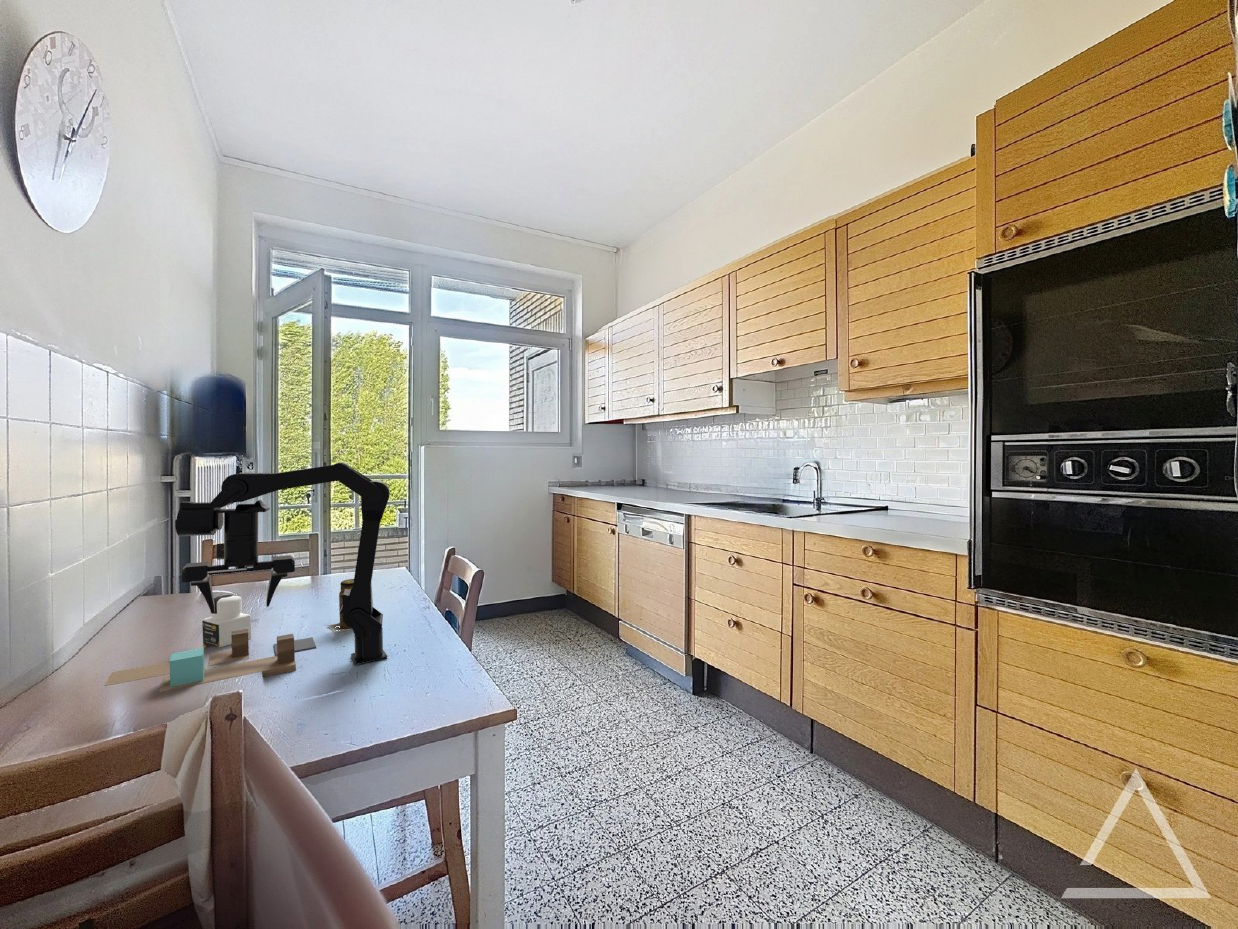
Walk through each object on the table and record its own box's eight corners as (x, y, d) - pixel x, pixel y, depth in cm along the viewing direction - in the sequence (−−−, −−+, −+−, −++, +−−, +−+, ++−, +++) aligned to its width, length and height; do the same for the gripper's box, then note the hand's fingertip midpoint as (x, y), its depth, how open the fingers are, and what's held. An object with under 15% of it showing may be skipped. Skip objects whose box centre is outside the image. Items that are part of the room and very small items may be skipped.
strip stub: (249, 663, 118) (248, 635, 117) (208, 671, 114) (207, 642, 113) (248, 652, 124) (247, 625, 124) (210, 659, 120) (209, 632, 120)
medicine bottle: (202, 648, 128) (200, 598, 127) (235, 639, 134) (234, 591, 134) (218, 654, 124) (217, 602, 124) (252, 644, 131) (250, 594, 130)
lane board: (219, 690, 105) (218, 682, 105) (67, 722, 93) (67, 714, 93) (221, 656, 123) (221, 650, 122) (93, 680, 110) (93, 673, 110)
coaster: (316, 649, 127) (316, 646, 127) (275, 657, 122) (275, 654, 122) (312, 639, 133) (312, 637, 133) (273, 646, 129) (273, 644, 129)
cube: (203, 680, 106) (202, 655, 106) (170, 687, 103) (169, 661, 103) (204, 672, 110) (203, 647, 110) (172, 678, 108) (172, 653, 107)
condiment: (370, 625, 144) (369, 580, 143) (335, 633, 138) (334, 586, 137) (360, 619, 149) (359, 576, 149) (327, 626, 143) (326, 581, 143)
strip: (295, 670, 114) (295, 640, 114) (159, 698, 101) (158, 665, 101) (292, 658, 121) (291, 630, 120) (164, 683, 108) (163, 652, 108)
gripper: (291, 526, 123) (291, 595, 124) (186, 532, 113) (186, 606, 113) (295, 533, 114) (294, 606, 115) (181, 539, 104) (181, 620, 104)
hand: (241, 609), depth 112 cm, fingers open, 9 cm apart
